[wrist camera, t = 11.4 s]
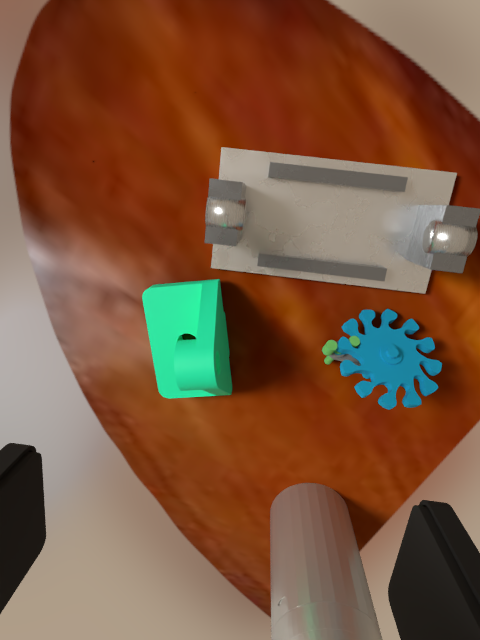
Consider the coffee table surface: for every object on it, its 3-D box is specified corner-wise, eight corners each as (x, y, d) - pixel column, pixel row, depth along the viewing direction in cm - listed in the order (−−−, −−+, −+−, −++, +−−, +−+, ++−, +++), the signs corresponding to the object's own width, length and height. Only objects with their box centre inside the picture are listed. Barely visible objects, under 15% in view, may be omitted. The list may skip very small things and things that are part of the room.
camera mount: (148, 283, 39) (109, 309, 30) (221, 277, 39) (205, 301, 29) (166, 387, 43) (136, 442, 33) (233, 383, 42) (223, 438, 32)
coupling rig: (422, 291, 38) (456, 311, 31) (212, 266, 38) (200, 280, 31) (452, 173, 34) (498, 166, 28) (222, 148, 35) (211, 135, 28)
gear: (443, 319, 37) (449, 418, 32) (412, 344, 42) (413, 433, 38) (334, 291, 37) (323, 386, 32) (316, 320, 42) (304, 405, 37)
